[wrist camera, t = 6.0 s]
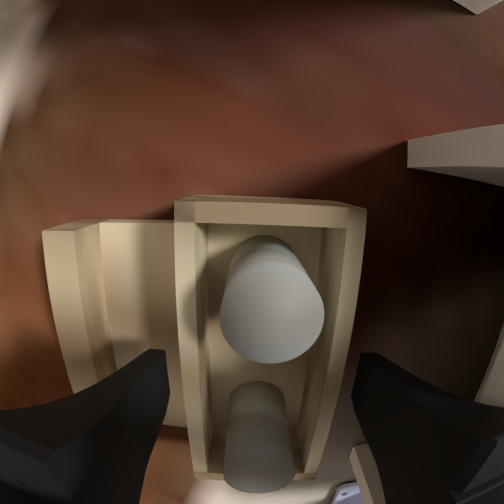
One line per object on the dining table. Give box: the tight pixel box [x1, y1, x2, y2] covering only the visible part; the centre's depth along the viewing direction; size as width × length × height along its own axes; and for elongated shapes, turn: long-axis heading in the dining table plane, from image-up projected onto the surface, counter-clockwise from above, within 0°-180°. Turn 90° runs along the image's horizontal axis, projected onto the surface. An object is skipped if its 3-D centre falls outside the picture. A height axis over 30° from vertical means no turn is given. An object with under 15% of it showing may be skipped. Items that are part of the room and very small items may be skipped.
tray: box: [42, 195, 367, 493], centre depth 11 cm, size 12×11×5 cm
